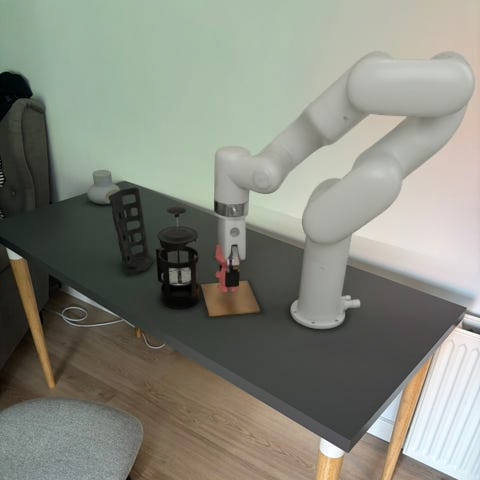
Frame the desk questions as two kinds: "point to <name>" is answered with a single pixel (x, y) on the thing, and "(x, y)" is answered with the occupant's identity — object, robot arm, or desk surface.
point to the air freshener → (102, 187)
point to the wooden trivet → (229, 299)
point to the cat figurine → (223, 270)
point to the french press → (177, 264)
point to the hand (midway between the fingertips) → (228, 277)
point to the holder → (124, 233)
